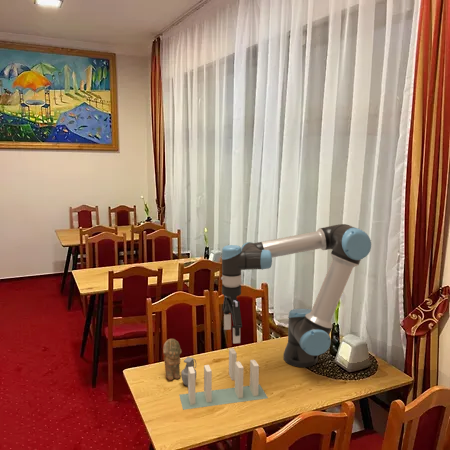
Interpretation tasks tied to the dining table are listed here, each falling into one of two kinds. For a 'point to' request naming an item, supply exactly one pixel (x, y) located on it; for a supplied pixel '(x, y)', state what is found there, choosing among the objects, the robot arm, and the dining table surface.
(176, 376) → the figurine
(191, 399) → the domino
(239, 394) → the domino
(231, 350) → the domino
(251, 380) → the domino
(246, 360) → the dining table surface
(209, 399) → the domino
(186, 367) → the hand grenade
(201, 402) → the strip
